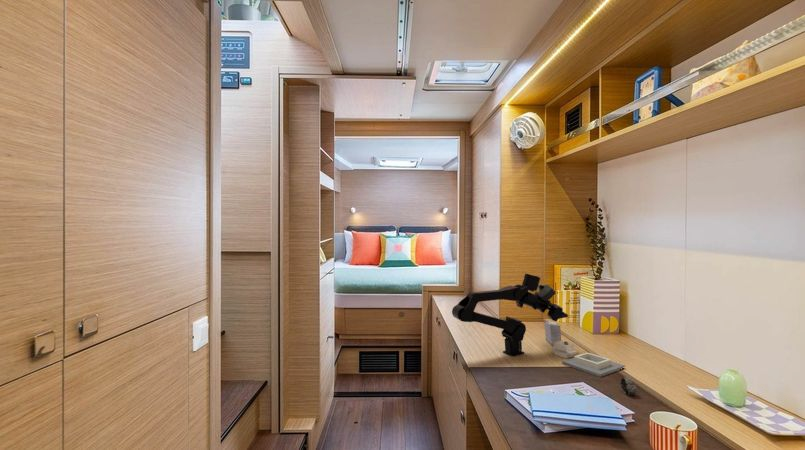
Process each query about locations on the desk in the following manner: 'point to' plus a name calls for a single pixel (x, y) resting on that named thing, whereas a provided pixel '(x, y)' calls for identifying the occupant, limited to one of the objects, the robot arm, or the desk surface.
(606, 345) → the desk surface
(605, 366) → the plate
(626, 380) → the dark grey lumpy piece
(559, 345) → the servo block
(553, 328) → the medicine box
